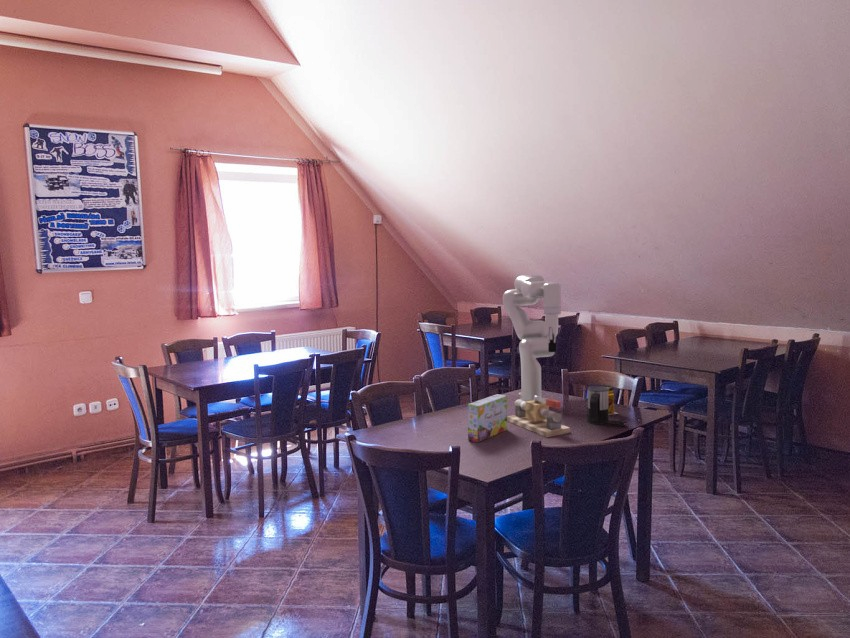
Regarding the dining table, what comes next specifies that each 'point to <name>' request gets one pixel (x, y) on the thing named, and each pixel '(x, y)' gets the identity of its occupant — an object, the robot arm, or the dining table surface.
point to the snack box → (487, 417)
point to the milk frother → (599, 406)
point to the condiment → (610, 401)
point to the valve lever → (548, 401)
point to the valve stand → (538, 418)
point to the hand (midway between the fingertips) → (552, 351)
